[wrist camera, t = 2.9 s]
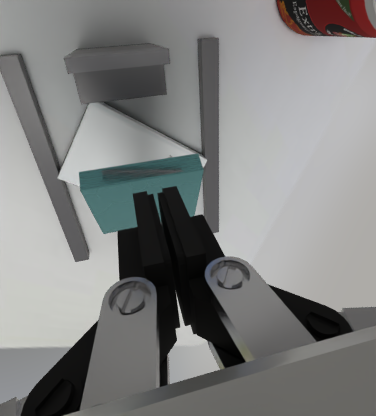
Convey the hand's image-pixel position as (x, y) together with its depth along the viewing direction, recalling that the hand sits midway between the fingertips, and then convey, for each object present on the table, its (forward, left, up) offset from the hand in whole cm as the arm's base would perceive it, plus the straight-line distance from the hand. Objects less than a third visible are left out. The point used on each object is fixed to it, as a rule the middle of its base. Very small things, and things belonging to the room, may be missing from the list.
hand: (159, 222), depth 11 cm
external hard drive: (+5, 0, -19) cm, 19 cm away
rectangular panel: (+7, 0, -8) cm, 10 cm away
